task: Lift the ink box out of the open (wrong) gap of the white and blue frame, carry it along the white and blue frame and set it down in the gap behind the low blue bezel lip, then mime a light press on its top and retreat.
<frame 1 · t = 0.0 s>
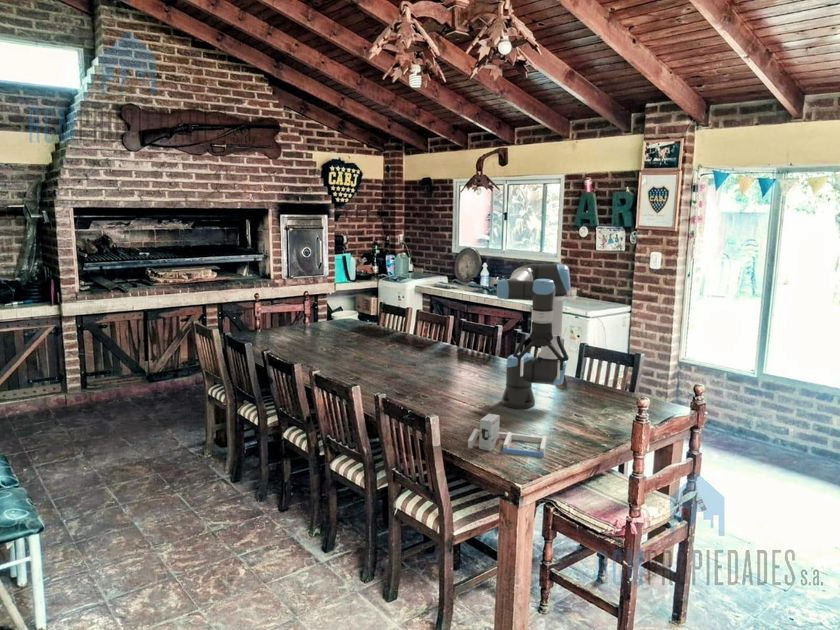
hand: (539, 377, 240), 28 cm above the table, fingers open, 13 cm apart
white and blue frame: (507, 445, 247), on the table
ink box: (489, 446, 246), on the table
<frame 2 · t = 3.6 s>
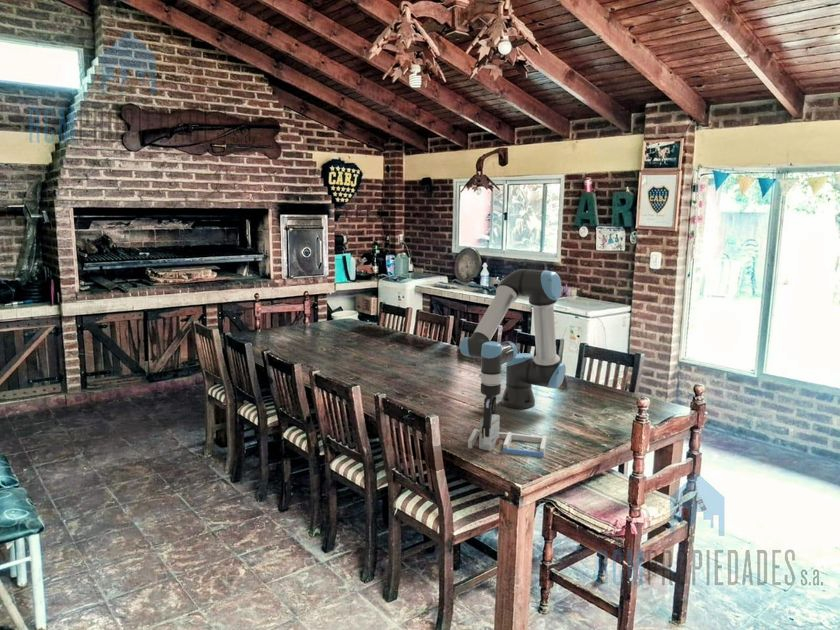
hand: (489, 439, 246), 3 cm above the table, fingers closed on ink box, 9 cm apart
ink box: (489, 446, 246), on the table, touching gripper
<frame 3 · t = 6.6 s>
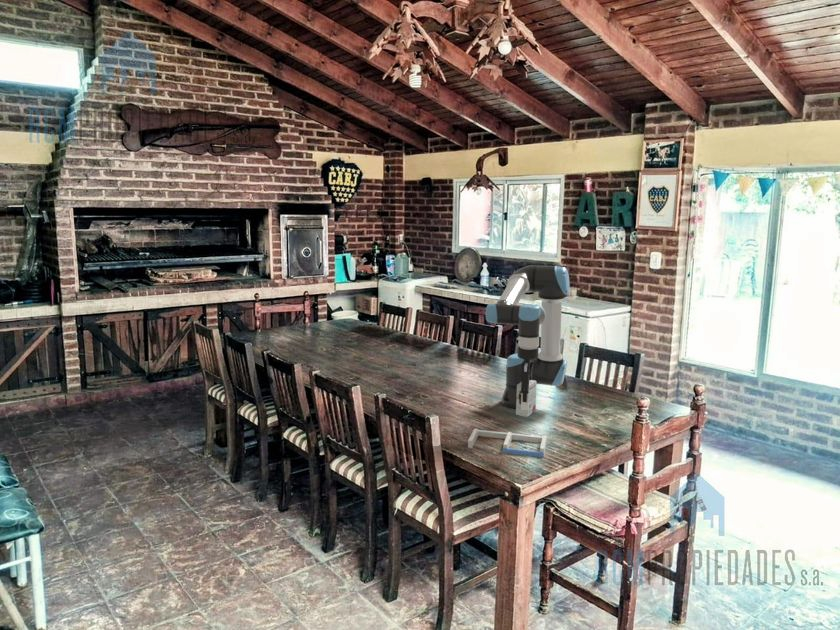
hand: (526, 405, 239), 18 cm above the table, fingers closed on ink box, 9 cm apart
ink box: (525, 413, 240), point 15 cm above the table, touching gripper
when the fingers open (4 cm above the table, at t = 9.8 s): ink box stays where it is, resting on white and blue frame.
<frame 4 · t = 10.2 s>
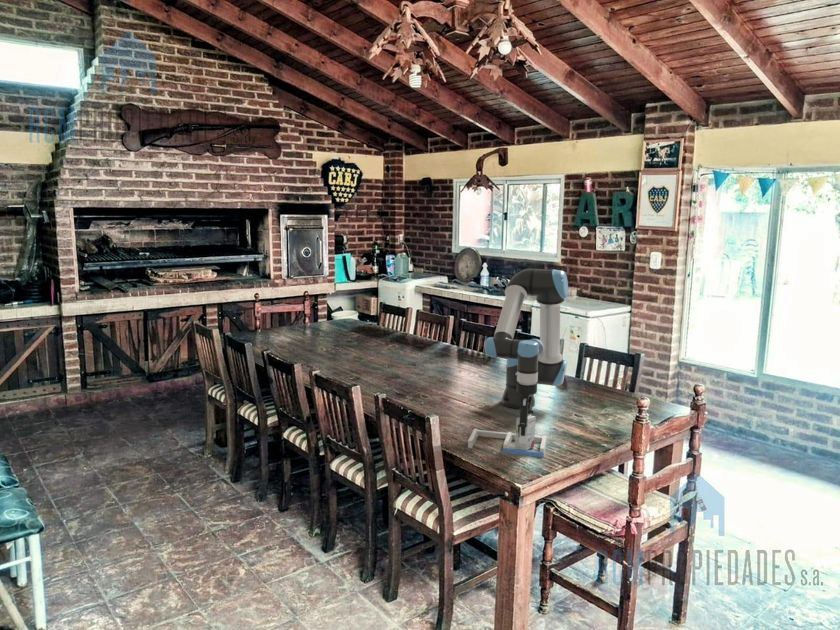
hand: (525, 436, 242), 5 cm above the table, fingers open, 13 cm apart
ink box: (524, 448, 243), point 1 cm above the table, touching white and blue frame
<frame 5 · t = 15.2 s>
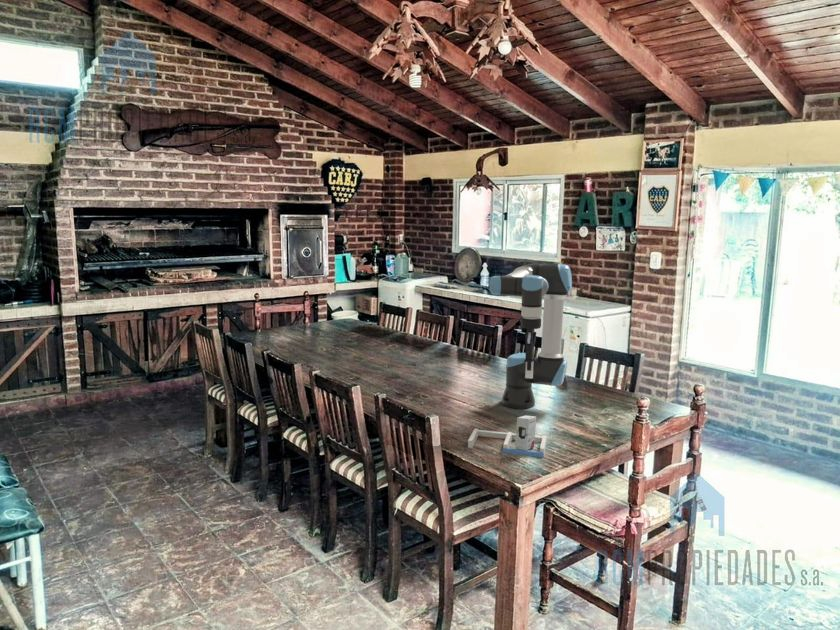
hand: (528, 377, 244), 26 cm above the table, fingers closed
ink box: (524, 448, 243), point 1 cm above the table, touching white and blue frame
at the end: ink box inside the target area (0.2 cm from its centre), point 0.7 cm above the table; ink box tilted 11°; the gripper is holding nothing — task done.
